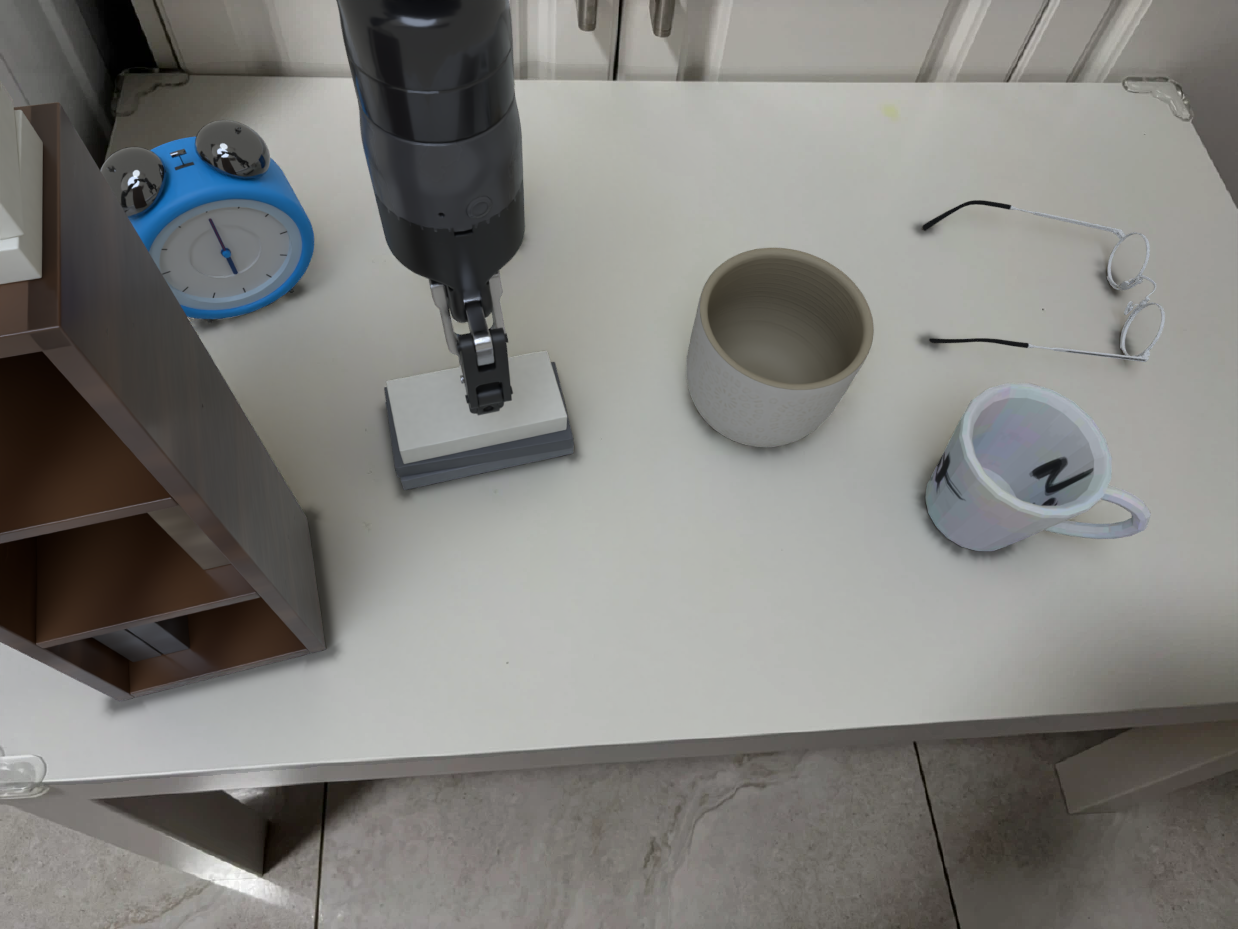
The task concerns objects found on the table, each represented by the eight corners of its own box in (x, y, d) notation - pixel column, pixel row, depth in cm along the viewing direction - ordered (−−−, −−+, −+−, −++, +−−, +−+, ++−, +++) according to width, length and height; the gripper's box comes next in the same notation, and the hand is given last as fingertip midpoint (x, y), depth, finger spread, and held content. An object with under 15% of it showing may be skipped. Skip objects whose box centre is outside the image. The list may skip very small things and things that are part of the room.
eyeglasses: (1142, 388, 73) (1180, 354, 69) (928, 356, 73) (952, 320, 69) (1114, 247, 81) (1147, 208, 76) (919, 217, 81) (941, 177, 76)
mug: (926, 428, 70) (982, 358, 61) (1105, 505, 68) (1189, 444, 59) (889, 533, 65) (944, 474, 56) (1080, 620, 63) (1168, 572, 54)
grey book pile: (402, 495, 63) (396, 476, 61) (385, 408, 66) (378, 387, 64) (576, 456, 66) (578, 437, 63) (552, 375, 69) (552, 354, 66)
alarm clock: (174, 345, 68) (85, 207, 54) (150, 289, 70) (59, 144, 57) (333, 286, 71) (285, 144, 58) (305, 235, 74) (254, 87, 60)
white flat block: (403, 464, 61) (399, 451, 59) (389, 395, 64) (385, 380, 62) (566, 430, 63) (567, 416, 62) (546, 364, 66) (547, 349, 64)
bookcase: (119, 701, 55) (-461, 414, 23) (114, 560, 59) (-381, 153, 27) (326, 650, 58) (60, 326, 26) (307, 518, 62) (59, 100, 30)
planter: (840, 360, 72) (887, 275, 62) (811, 485, 66) (857, 413, 57) (699, 317, 73) (723, 227, 63) (658, 437, 67) (678, 357, 58)
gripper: (349, 79, 45) (397, 281, 59) (395, 290, 39) (436, 458, 53) (490, 61, 46) (504, 262, 61) (556, 262, 40) (554, 432, 55)
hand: (472, 353), depth 57 cm, fingers open, 8 cm apart
